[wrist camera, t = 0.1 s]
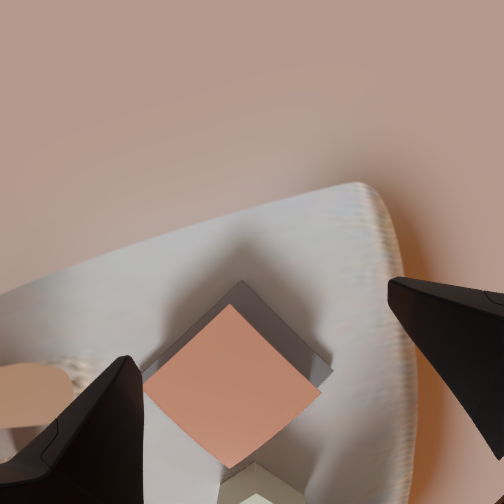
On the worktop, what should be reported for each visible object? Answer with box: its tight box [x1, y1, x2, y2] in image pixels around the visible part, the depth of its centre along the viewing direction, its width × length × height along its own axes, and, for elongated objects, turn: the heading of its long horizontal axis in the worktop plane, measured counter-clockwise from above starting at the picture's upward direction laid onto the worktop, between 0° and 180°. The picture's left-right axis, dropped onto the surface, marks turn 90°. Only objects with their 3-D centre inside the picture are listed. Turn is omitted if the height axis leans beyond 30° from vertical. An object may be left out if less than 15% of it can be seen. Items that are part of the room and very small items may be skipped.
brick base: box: [142, 280, 334, 469], centre depth 19 cm, size 11×13×5 cm
